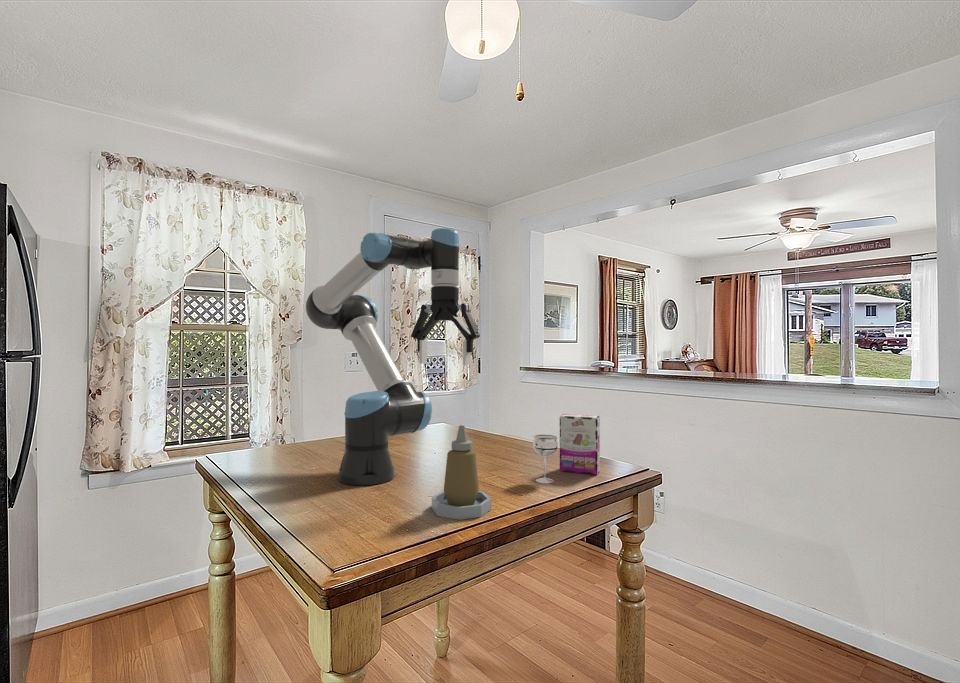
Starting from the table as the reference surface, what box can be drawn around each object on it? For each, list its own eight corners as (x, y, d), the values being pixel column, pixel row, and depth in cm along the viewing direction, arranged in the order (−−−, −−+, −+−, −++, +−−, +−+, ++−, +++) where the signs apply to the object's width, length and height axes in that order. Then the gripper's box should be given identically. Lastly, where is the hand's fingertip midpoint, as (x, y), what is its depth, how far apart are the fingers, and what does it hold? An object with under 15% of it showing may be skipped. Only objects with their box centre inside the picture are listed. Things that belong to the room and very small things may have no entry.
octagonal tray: (422, 513, 110) (423, 501, 110) (450, 496, 121) (450, 486, 121) (473, 522, 104) (473, 510, 104) (497, 504, 116) (497, 494, 116)
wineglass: (541, 475, 140) (541, 433, 140) (562, 480, 136) (562, 436, 136) (527, 481, 135) (528, 437, 135) (549, 485, 130) (549, 440, 130)
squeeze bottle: (475, 511, 108) (475, 429, 108) (439, 509, 109) (439, 428, 109) (482, 500, 116) (482, 423, 116) (448, 497, 117) (449, 421, 117)
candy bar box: (600, 471, 145) (600, 415, 145) (597, 475, 141) (598, 418, 141) (562, 467, 150) (563, 413, 150) (558, 471, 145) (559, 415, 145)
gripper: (399, 287, 137) (398, 363, 137) (480, 283, 126) (479, 366, 126) (414, 289, 144) (413, 362, 144) (492, 286, 133) (491, 364, 133)
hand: (444, 364), depth 135 cm, fingers open, 13 cm apart
